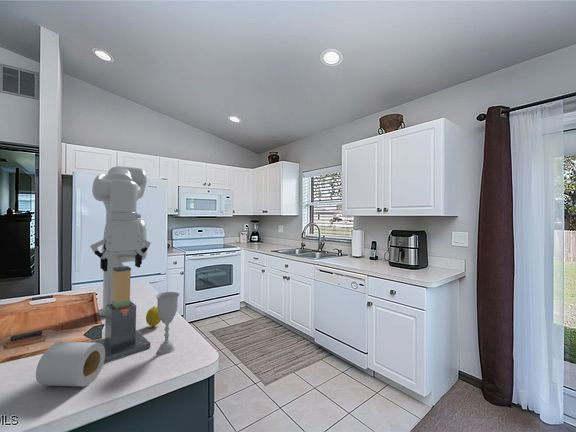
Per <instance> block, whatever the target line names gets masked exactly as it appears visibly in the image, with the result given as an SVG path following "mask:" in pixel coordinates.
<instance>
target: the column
mask: <svg viewBox="0 0 576 432" xmlns="http://www.w3.org/2000/svg"><path fill="white" fill-rule="evenodd" d="M131 271H132V267H129V266H128V265H124V266H123V267H113V299H112V307H113V308H114V309H117V308H121V307H126V306H130V302H132V301H131V274H132V273H131Z"/></svg>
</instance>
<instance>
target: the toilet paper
mask: <svg viewBox="0 0 576 432" xmlns="http://www.w3.org/2000/svg"><path fill="white" fill-rule="evenodd" d="M104 359H105V348H104V346H103V345H102V344H101V343H90V342H86V341H85V342H83V341H81V342H80V341H74V342H73V341H58V342H56V343H55V342H54V343H53V344H52V345H50V346H49V347H48V348H47V349H46V350H45V351H44V353H43V354H42V355H41V356H40V359H39V360H38V363H37V366H36V369H35V378H36V381H37V383H38V385H41V386H46V387H47V386H48V387H49V386H52V387H53V386H55V387H59V386H60V387H88V386H90V384H92V383H93V382H95V380H96V379H97V378H98V375H99V374H100V372H101V371H102V369H103V366H104Z"/></svg>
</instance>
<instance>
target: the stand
mask: <svg viewBox="0 0 576 432" xmlns="http://www.w3.org/2000/svg"><path fill="white" fill-rule="evenodd" d="M104 318H105V321H104V322H105V326H104V327H105V329H104V338H101V339H98V340H94V341H91V342H89V343H101V344H102V345H103V346H104V348H105V359H104V363H108V362H111V361H113V360H117V359H120V358H122V357H125V356H128V355H132V354H135V353H137V352H140V351H144V350H146V349H147V350H148V349H150V348H151V341H149V340H148V339H147V338H146V337H145V336H143V335H142V334H141V333H140V332H139V331H138V330H137V329H136V328H137V305H136V303H133V302H132V301H131V302H130V306H126V307H121V308H117V309H114V308H113V307H112V304H108V305H106V317H104ZM104 363H103V364H104Z"/></svg>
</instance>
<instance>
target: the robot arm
mask: <svg viewBox="0 0 576 432" xmlns="http://www.w3.org/2000/svg"><path fill="white" fill-rule="evenodd" d="M147 181H148V179H147V173H146V172H145V169H142V168H139V167H129V166H123V165H121V166H120V165H118V166H114V167H111V168H110V169H109V170H108V171H107V173H103V174H99V175H97V176H95V178H94V179H93V182H92V186H91V187H92V191H91V192H92V196H93V198H94V199H95V200H96V201H98V202H102V203H103V205H104V207H105V215H106V216H105V219H106V220H105V226H104V232H103V239H101V240H99V241H97V242H94V243H92V244H90V246H89V247H90V249H91V250H92V252H93V254H95V255H96V256H97V257H98V258H100V261H99V262H100V264H99V267H100V269H101V270H102V271H103V279H102V281H103V283H102V284H103V286H102V308H100V309H99V310H98V312H97V314H98V313H99V314H98V316H100V317H104V318H106V305H108V304H112V299H113V267H123V266H125V265H124V264H123V263H130V262H132V263H133V262H134V266H135V267H136V268H141V265H142V264H143V263H142V262H143V261H144V260H146V257H147V255H148V249H149V248H150V245H151V242H150V241H148V240H147V226H146V225H147V224H146V222H145V221H144V219H141V216H142V215H141V214H140V213H139V214H138V212H137V201H139V200H140V199H142V198H143V197H144V193H145V191H146V190H145V189H146V186H147ZM99 247H101V251H99V249H98V248H99Z"/></svg>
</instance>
